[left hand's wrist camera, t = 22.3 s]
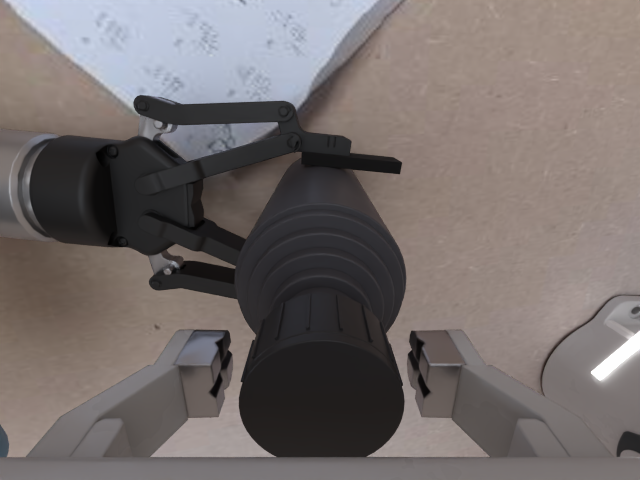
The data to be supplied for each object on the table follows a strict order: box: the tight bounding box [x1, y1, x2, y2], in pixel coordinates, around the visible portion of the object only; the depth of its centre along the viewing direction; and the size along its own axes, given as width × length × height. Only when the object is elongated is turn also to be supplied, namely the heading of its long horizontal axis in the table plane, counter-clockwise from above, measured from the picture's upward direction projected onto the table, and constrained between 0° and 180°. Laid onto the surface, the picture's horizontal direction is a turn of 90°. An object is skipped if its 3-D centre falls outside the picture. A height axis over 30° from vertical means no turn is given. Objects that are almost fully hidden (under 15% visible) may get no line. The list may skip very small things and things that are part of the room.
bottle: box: [235, 158, 406, 334], centre depth 20 cm, size 7×7×23 cm
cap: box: [239, 293, 404, 457], centre depth 9 cm, size 4×4×2 cm
